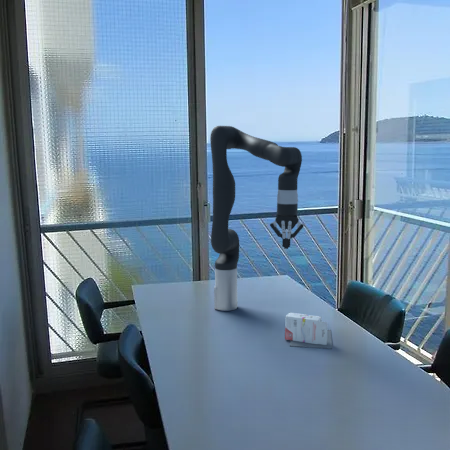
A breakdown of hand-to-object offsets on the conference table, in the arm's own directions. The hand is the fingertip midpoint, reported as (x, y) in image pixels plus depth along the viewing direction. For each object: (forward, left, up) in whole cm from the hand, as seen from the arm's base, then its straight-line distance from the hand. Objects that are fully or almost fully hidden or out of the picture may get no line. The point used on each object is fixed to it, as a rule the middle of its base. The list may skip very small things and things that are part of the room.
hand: (286, 248), depth 186 cm
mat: (+10, -14, -29) cm, 34 cm away
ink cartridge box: (+1, -15, -25) cm, 29 cm away
